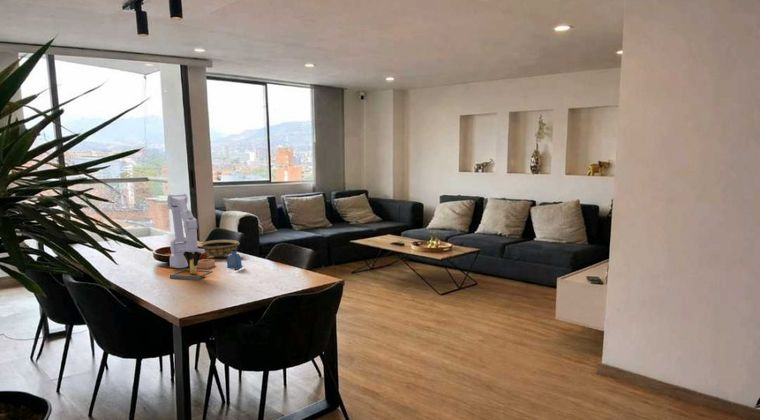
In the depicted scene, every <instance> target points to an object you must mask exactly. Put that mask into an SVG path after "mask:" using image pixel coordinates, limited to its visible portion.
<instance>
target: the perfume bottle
mask: <svg viewBox="0 0 760 420" xmlns="http://www.w3.org/2000/svg"><path fill="white" fill-rule="evenodd" d="M242 263H243V262H242V257H241V255H240V254H239V253H238V248H237V249H236V248H232V249H231V254H229V255H228V257H227V259H226V266H227V268H232V269H233V268H234V271H239V270H240V269H241V270H242V269H243V266H242Z"/></svg>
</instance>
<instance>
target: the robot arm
mask: <svg viewBox="0 0 760 420" xmlns="http://www.w3.org/2000/svg"><path fill="white" fill-rule="evenodd" d="M166 200H167V207H168V209H169V210H171V214H172V221H173V222H172V223H173V229H174V238H173V239H172V240H171V241H170V247H169V248H170V252H171V255H170V256H169V268H175V269H186V268H187V267H189V266H190V260H191V259H193V260H194V266H197V265H198V261H199V260H200V257H201V255H202V254H204V253H205V249H201V248H199V247H198V232H197V231H198V229H199V220H198V219H197V218H196V217H194V215H193V213H192V211H191V210H190V209H188V205H187V204H188V201H189V200H188V195H187V194H186V193H176V194H175V193H174V194H170V193H169V194H168V195H167V199H166ZM184 233H185V236H184Z"/></svg>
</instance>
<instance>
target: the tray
mask: <svg viewBox="0 0 760 420" xmlns="http://www.w3.org/2000/svg"><path fill="white" fill-rule="evenodd" d="M185 271H189V272H190V268H182V269H181V270H179V271H175V272H173V273H170V274H169V278H170V279H175V280H176V279H177V280H189V281H190V280H191V281H201V280H203V279H206V278H207V276H206V275H208V274H211V273H213V272H214V271H213V270H207V269H204V270H203V269H196V272H201V273H202V274H200V275H192V274H190V275H188V274H179V273H182V272H185Z"/></svg>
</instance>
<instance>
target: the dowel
mask: <svg viewBox="0 0 760 420" xmlns="http://www.w3.org/2000/svg"><path fill="white" fill-rule="evenodd" d="M189 269H190V271H189V273H190V275H194V274H197V271H196V270H197V268H196V266H194V260H193V258H192V259H191V260H190V265H189Z"/></svg>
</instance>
